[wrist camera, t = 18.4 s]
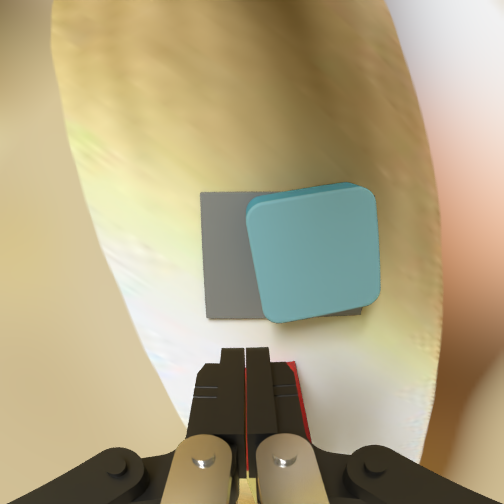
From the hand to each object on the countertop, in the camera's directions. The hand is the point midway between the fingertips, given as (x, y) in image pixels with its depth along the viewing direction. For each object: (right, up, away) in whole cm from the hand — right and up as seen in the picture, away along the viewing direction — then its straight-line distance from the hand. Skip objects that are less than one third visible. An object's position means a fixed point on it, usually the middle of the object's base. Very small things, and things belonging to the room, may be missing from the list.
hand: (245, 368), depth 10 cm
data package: (0, +3, +21) cm, 21 cm away
